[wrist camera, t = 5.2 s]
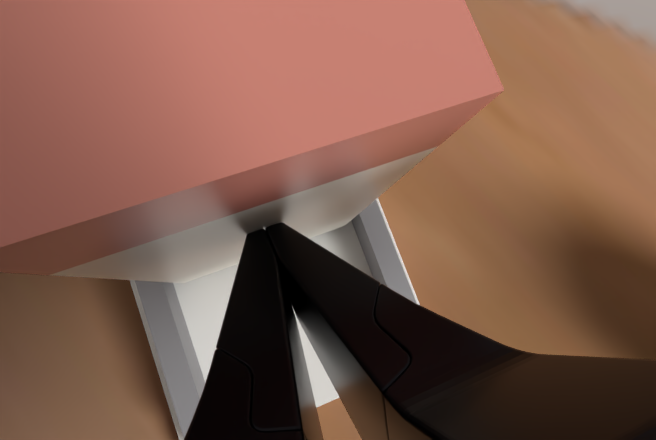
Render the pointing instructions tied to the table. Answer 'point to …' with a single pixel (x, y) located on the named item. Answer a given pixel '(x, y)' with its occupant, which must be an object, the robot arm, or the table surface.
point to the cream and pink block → (215, 123)
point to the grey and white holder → (212, 299)
